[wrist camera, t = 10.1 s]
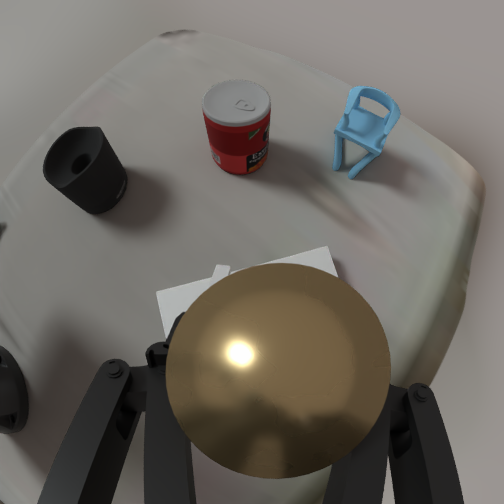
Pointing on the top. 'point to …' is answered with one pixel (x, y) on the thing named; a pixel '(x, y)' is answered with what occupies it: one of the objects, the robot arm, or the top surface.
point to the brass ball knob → (278, 370)
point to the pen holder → (86, 169)
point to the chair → (364, 126)
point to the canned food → (237, 125)
